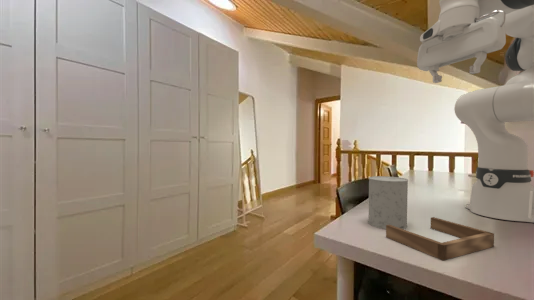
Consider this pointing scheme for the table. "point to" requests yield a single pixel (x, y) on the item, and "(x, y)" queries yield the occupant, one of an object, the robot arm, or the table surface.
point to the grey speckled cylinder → (388, 201)
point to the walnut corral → (466, 244)
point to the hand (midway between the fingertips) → (454, 78)
